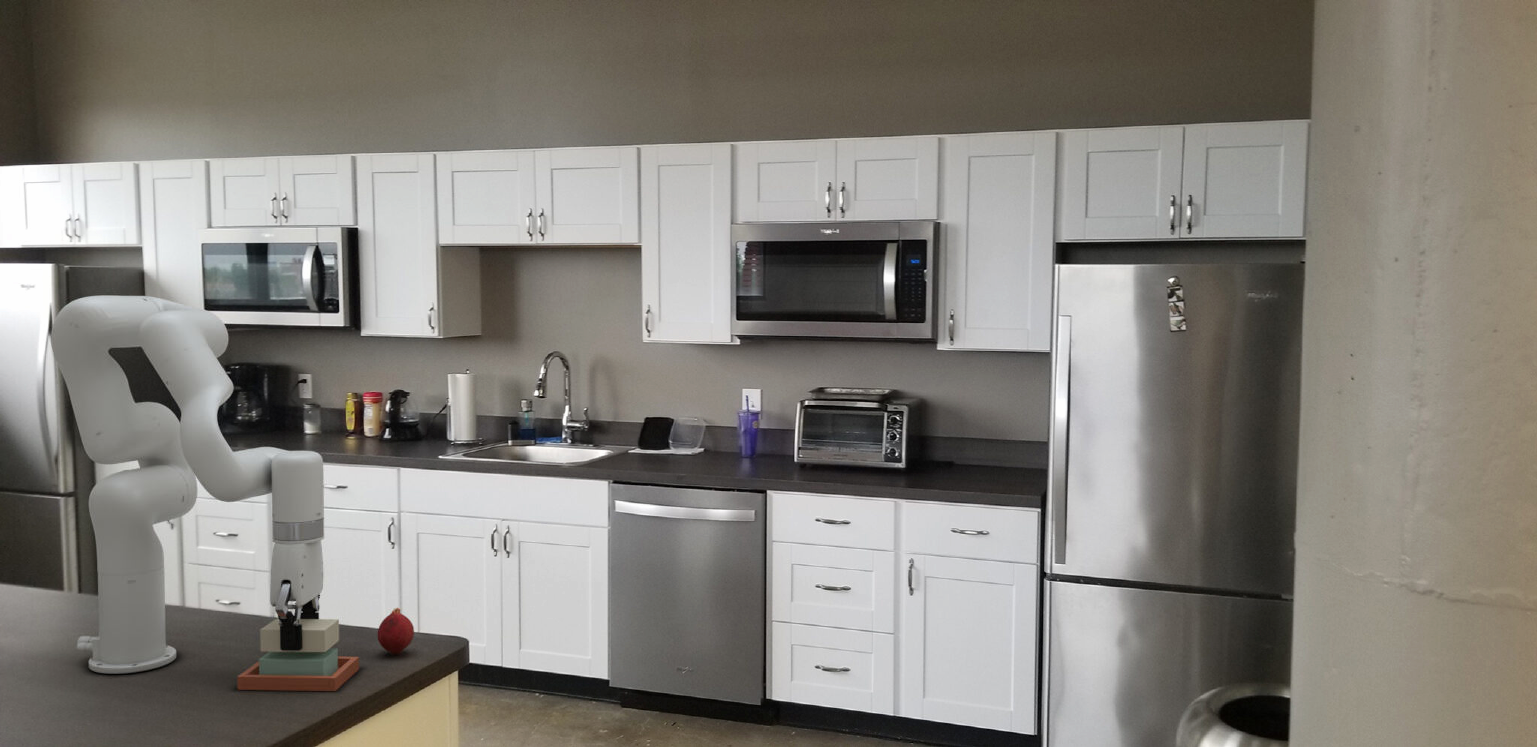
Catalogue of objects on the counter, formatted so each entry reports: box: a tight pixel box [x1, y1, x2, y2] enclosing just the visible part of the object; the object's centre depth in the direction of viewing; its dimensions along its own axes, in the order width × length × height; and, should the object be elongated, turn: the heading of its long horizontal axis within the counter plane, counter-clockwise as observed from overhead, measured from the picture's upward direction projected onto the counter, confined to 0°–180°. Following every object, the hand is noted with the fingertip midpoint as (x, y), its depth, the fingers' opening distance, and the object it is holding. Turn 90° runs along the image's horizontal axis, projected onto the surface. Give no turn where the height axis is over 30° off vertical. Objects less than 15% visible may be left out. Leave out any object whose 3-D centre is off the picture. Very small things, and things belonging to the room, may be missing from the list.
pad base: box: [258, 648, 339, 676], centre depth 183 cm, size 10×6×4 cm, turn 90°
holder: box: [236, 655, 360, 692], centre depth 183 cm, size 15×10×2 cm
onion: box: [376, 607, 415, 656], centre depth 195 cm, size 6×6×8 cm
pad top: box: [259, 618, 340, 653], centre depth 182 cm, size 10×6×4 cm, turn 90°
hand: (300, 642), depth 182 cm, fingers closed on pad top, 6 cm apart
